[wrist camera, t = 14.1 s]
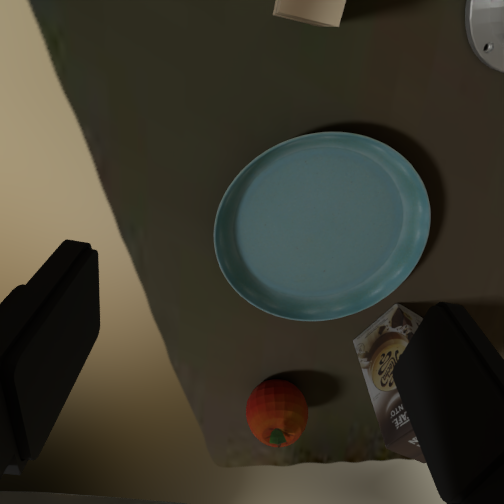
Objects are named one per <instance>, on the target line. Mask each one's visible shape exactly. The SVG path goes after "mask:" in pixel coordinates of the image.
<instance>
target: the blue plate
mask: <svg viewBox="0 0 504 504" xmlns="http://www.w3.org/2000/svg"><path fill="white" fill-rule="evenodd" d="M430 223H431V210H430V203H429V198H428V194H427V191H426V188H425V186H424V183H423V181H422V180H421V178H420V176H419V175H418V173H417V172H416V170H415V169H414V167H413V166H412V165H411V164H410V162H409V161H407V160H406V159H405V158H404V157H403V156H402V155H401V154H400V153H398V152H397V151H396V150H394V149H393V148H391V147H390V146H388V145H386V144H384V143H382V142H380V141H378V140H375V139H373V138H370V137H367V136H364V135H360V134H355V133H348V132H319V133H312V134H307V135H302V136H299V137H295V138H292V139H290V140H287V141H284V142H282V143H280V144H278V145H276V146H274V147H272V148H270V149H268V150H267V151H265V152H263V153H262V154H260V155H259V156H258V157H256V158H255V159H254V160H253V161H251V162H250V163H249V164H248V165H247V166H246V167H245V168H244V169H243V170H242V171H241V172H240V173H239V174H238V175H237V176H236V178H235V179H234V180H233V182H232V183H231V184H230V186H229V187H228V189H227V191H226V192H225V194H224V196H223V198H222V200H221V203H220V205H219V208H218V211H217V215H216V219H215V225H214V246H215V253H216V257H217V260H218V263H219V266H220V268H221V271H222V272H223V274H224V276H225V278H226V279H227V281H228V282H229V284H230V285H231V286H232V287H233V288H234V290H235V291H236V292H237V293H238V294H239V295H240V296H242V297H243V298H244V299H245V300H246V301H248V302H249V303H251V304H252V305H254V306H255V307H257V308H259V309H261V310H263V311H265V312H267V313H270V314H272V315H275V316H278V317H282V318H286V319H291V320H299V321H323V320H331V319H336V318H341V317H345V316H348V315H351V314H354V313H357V312H360V311H362V310H364V309H366V308H368V307H370V306H372V305H374V304H376V303H377V302H379V301H381V300H382V299H383V298H385V297H386V296H388V295H389V294H390V293H392V292H393V291H394V290H395V289H396V288H397V287H398V286H399V285H400V284H401V283H402V282H403V281H404V280H405V279H406V278H407V277H408V276H409V274H410V273H411V272H412V270H413V269H414V267H415V266H416V264H417V263H418V261H419V259H420V257H421V255H422V253H423V251H424V248H425V246H426V243H427V239H428V235H429V230H430Z"/></svg>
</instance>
